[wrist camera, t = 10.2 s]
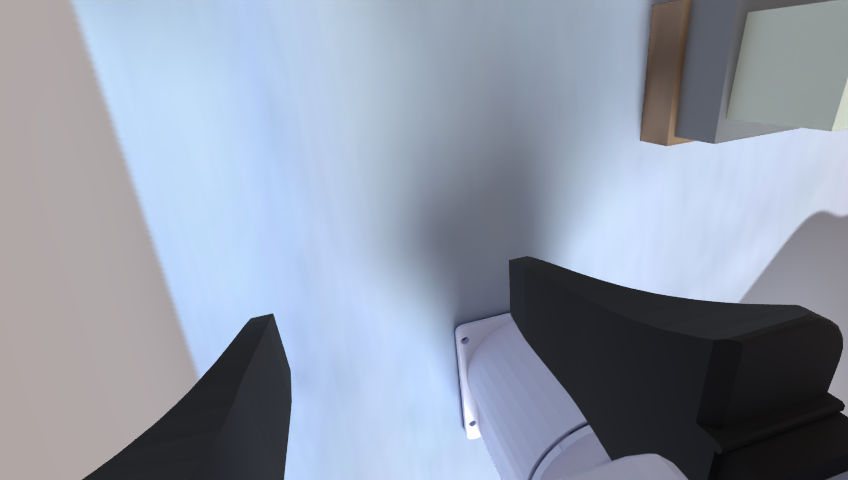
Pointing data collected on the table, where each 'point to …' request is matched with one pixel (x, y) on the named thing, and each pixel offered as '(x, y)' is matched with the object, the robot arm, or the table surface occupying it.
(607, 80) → the table surface
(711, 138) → the grey flat block
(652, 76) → the walnut block
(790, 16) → the sage block
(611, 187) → the table surface
